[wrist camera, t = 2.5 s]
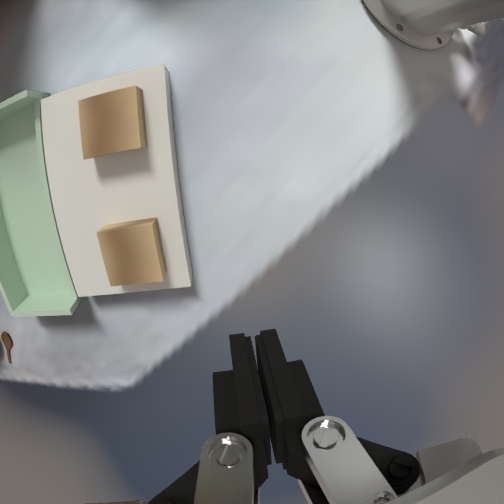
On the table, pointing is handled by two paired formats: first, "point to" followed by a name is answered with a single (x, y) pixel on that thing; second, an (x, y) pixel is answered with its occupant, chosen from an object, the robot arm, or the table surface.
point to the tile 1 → (112, 122)
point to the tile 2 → (132, 252)
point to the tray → (29, 217)
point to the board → (115, 183)
